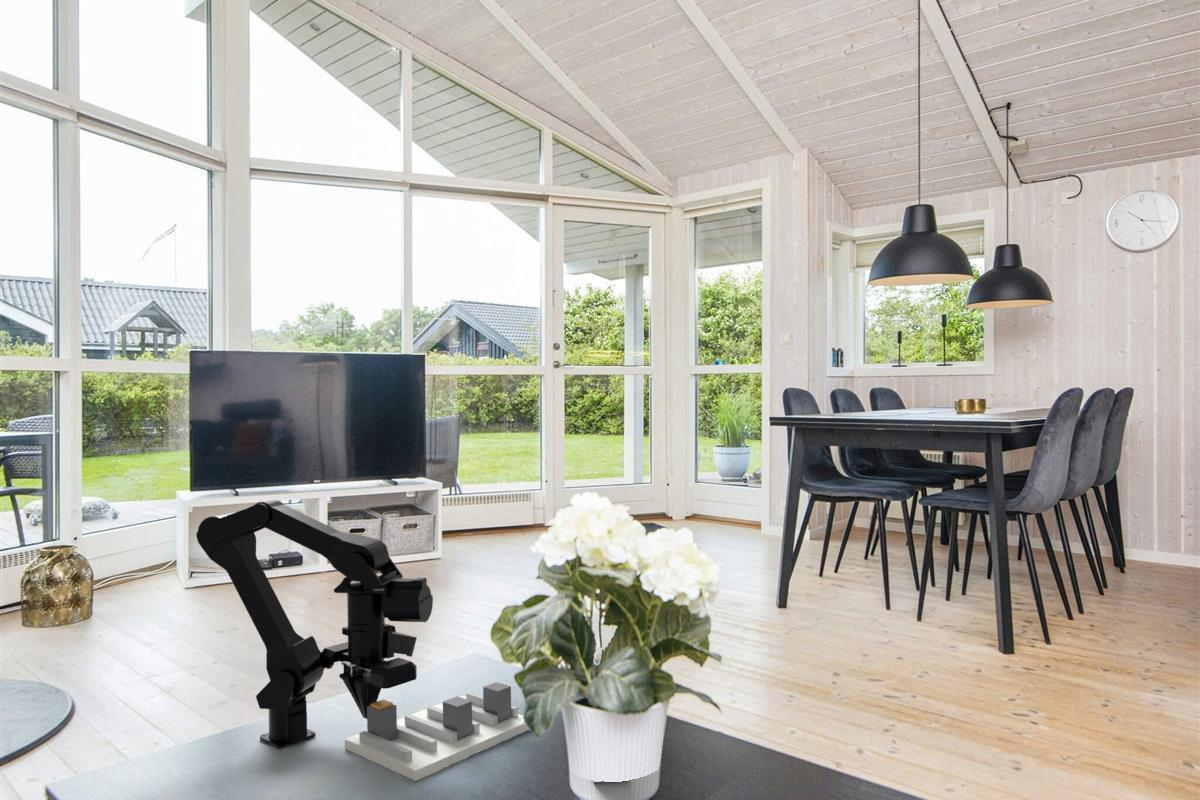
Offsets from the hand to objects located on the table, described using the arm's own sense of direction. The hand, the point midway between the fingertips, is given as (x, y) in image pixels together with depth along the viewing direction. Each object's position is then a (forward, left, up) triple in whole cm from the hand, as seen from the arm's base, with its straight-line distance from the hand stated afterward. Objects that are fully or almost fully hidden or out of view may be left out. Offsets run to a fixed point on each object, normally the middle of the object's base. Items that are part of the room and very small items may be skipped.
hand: (367, 717), depth 130 cm
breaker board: (+8, +9, -4) cm, 12 cm away
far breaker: (+12, +17, -2) cm, 21 cm away
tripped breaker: (+4, 0, -2) cm, 4 cm away
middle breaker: (+12, +9, -2) cm, 15 cm away
